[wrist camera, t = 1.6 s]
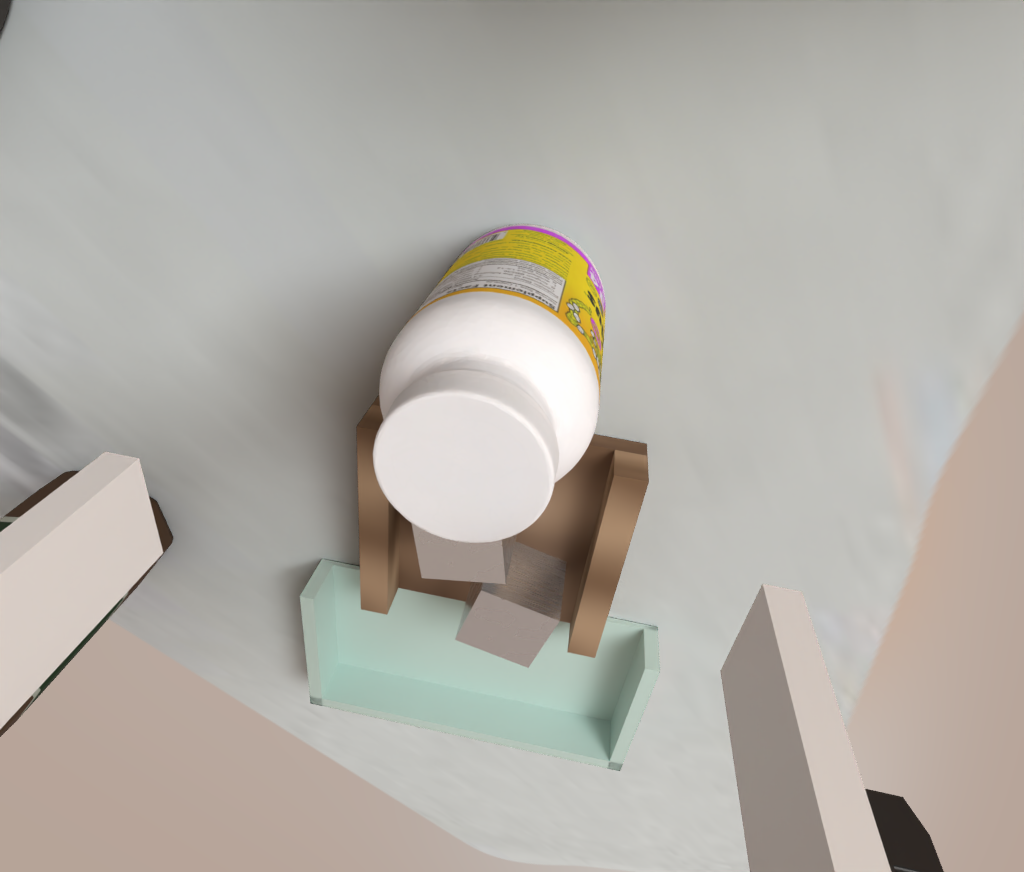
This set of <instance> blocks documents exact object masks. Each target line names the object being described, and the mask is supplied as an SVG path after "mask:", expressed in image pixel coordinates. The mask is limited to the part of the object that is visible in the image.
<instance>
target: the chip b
mask: <svg viewBox="0 0 1024 872" xmlns="http://www.w3.org/2000/svg"><path fill="white" fill-rule="evenodd" d="M565 571H566V561H564V560H561V559H559V558H556V557H554V556H551V555H549V554H546V553H544V552H541V551H539V550H536V549H534V548H531V547H529V546H526V545H524V544H521V543H519V542H516V541H515V545H514V549H513V554H512V558H511V563H510V567H509V572H508V576H507V581H506V584H497V583H483V582H471V585H470V589H469V592H468V596H467V599H466V603H465V606H464V610H463V613H462V617H461V620H460V624H459V627H458V631H457V634H456V638H455V640H457V641H459V642H462V643H465V644H467V645H470V646H472V647H475V648H478V649H480V650H483V651H485V652H488V653H491V654H493V655H496V656H498V657H501V658H504V659H506V660H509V661H511V662H514V663H517V664H519V665H522V666H524V667H527V668H529V666H530V665H531V663H532V662H533V660H534V659H535V657H536V656H537V654H538V653H539V651H540V650H541V648H542V647H543V645H544V644H545V642H546V641H547V639H548V638H549V636H550V635H551V633H552V632H553V630H554V629H555V628H556V626H557V625H558V623H559V622H560V615H561V606H562V597H563V589H564V580H565Z"/></svg>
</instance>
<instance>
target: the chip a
mask: <svg viewBox="0 0 1024 872" xmlns="http://www.w3.org/2000/svg"><path fill="white" fill-rule="evenodd" d="M412 529H413V534H414V539H415V545H416V550H417V555H418V561H419V566H420V571H421V577H422V578H427V579H441V580H455V581H469V582H483V583H497V584H506V581H507V576H508V572H509V567H510V563H511V558H512V554H513V549H514V545H515V540H516V536H517V534H516V535H513V536H511V537H509V538H505V539H502V540H498V541H493V542H482V543H469V542H459V541H454V540H449V539H445V538H442V537H439V536H436V535H433V534H431V533H429V532H427V531H425V530H423V529H421V528H419V527H417V526H416V525H414V524H413V523H412Z"/></svg>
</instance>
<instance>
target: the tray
mask: <svg viewBox="0 0 1024 872" xmlns="http://www.w3.org/2000/svg"><path fill="white" fill-rule="evenodd" d="M465 603H466V602H465V601H460V600H455V599H450V598H445V597H440V596H435V595H430V594H426V593H421V592H416V591H411V590H406V589H401V588H398V590H397V593H396V595H395V597H394V600H393V602H392V605H391V607H390V609H389V612H388V614H387V615H386V614H381V613H376V612H371V611H367V610H362V609H361V597H360V566H355V565H350V564H345V563H340V562H335V561H330V560H325V559H321V561H320V563H319V565H318V566H317V568H316V570H315V571H314V573H313V575H312V576H311V578H310V580H309V582H308V583H307V585H306V587H305V588H304V590H303V592H302V593H301V595H300V605H301V614H302V624H303V634H304V644H305V654H306V663H307V673H308V683H309V693H310V703H311V704H316V705H320V706H325V707H330V708H334V709H339V710H343V711H348V712H352V713H357V714H362V715H366V716H371V717H375V718H380V719H384V720H389V721H393V722H398V723H403V724H407V725H412V726H416V727H421V728H425V729H430V730H434V731H439V732H444V733H448V734H453V735H457V736H462V737H466V738H471V739H475V740H480V741H485V742H489V743H494V744H498V745H503V746H507V747H512V748H517V749H521V750H526V751H530V752H535V753H539V754H544V755H548V756H553V757H558V758H562V759H567V760H571V761H576V762H580V763H585V764H589V765H594V766H599V767H603V768H608V769H612V770H617V771H620V769H621V767H622V765H623V762H624V760H625V757H626V755H627V752H628V750H629V747H630V745H631V742H632V740H633V737H634V735H635V732H636V730H637V727H638V725H639V722H640V720H641V718H642V715H643V713H644V710H645V708H646V705H647V703H648V700H649V698H650V695H651V693H652V690H653V688H654V685H655V683H656V680H657V678H658V675H659V673H660V661H659V643H658V627H655V626H650V625H645V624H640V623H635V622H630V621H625V620H620V619H615V618H610V617H607V620H606V624H605V627H604V630H603V633H602V637H601V640H600V643H599V647H598V650H597V653H596V656H595V658H592V657H588V656H583V655H578V654H573V653H568V652H567V651H568V641H569V630H570V623H567V622H562V621H560V622H559V623H558V625H557V626H556V628H555V629H554V630H553V632H552V633H551V635H550V636H549V638H548V639H547V641H546V642H545V644H544V645H543V647H542V648H541V650H540V651H539V653H538V654H537V656H536V657H535V659H534V660H533V662H532V663H531V665H530V666H529V668H527V667H524V666H522V665H519V664H517V663H514V662H511V661H509V660H506V659H504V658H501V657H498V656H496V655H493V654H491V653H488V652H485V651H483V650H480V649H478V648H475V647H472V646H470V645H467V644H465V643H462V642H459V641H457V640H455V638H456V634H457V631H458V627H459V624H460V620H461V617H462V613H463V610H464V606H465Z"/></svg>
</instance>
